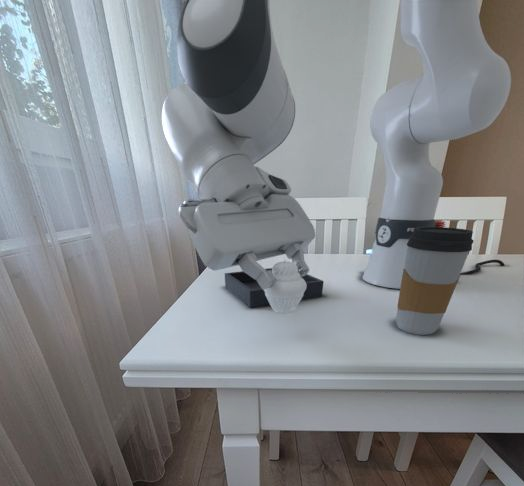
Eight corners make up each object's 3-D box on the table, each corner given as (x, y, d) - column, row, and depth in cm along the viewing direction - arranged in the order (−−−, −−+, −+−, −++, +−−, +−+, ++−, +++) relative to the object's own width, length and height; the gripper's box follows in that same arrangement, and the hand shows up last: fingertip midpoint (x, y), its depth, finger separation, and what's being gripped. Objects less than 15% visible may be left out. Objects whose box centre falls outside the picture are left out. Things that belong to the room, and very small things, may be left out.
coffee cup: (452, 340, 44) (489, 234, 37) (393, 335, 46) (418, 232, 38) (435, 319, 51) (463, 227, 44) (385, 315, 53) (404, 225, 46)
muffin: (303, 302, 45) (306, 255, 42) (306, 317, 40) (310, 265, 37) (263, 301, 46) (263, 255, 42) (260, 316, 40) (260, 265, 37)
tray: (287, 279, 74) (288, 266, 72) (322, 296, 62) (323, 280, 61) (225, 287, 68) (224, 273, 66) (250, 308, 56) (249, 291, 54)
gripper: (180, 179, 32) (244, 283, 31) (293, 180, 45) (341, 254, 44) (165, 220, 37) (220, 312, 36) (271, 211, 50) (314, 278, 49)
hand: (288, 280), depth 40 cm, fingers closed on muffin, 6 cm apart
